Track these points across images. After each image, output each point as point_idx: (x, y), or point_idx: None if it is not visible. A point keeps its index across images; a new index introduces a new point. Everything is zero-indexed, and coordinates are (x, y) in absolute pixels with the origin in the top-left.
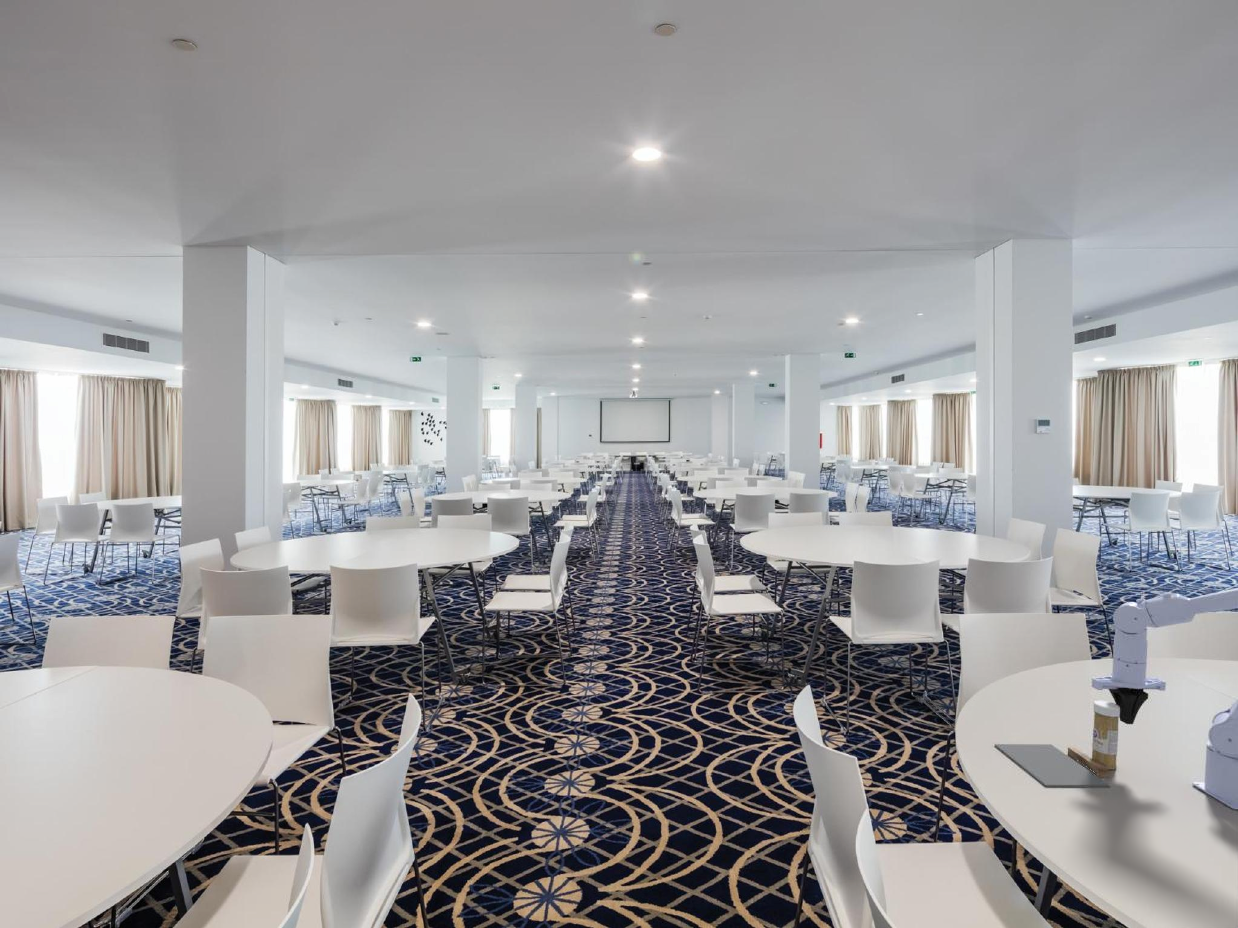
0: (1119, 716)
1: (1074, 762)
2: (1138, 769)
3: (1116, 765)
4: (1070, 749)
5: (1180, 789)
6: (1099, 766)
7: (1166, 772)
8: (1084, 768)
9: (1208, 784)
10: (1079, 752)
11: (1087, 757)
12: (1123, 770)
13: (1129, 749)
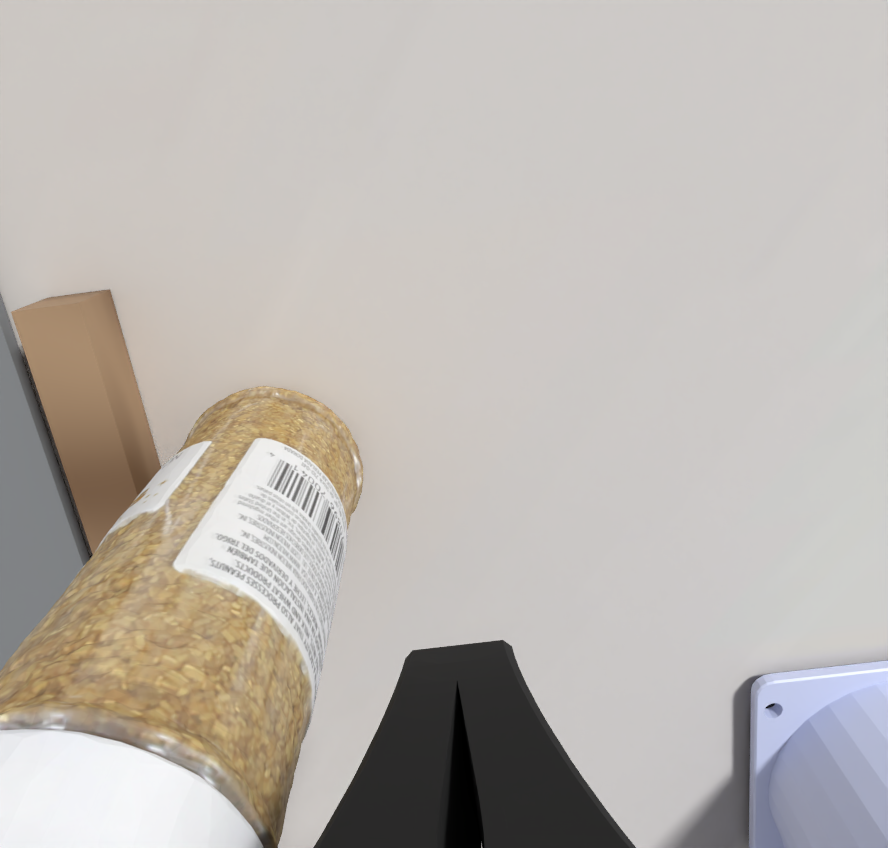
0: (396, 687)
1: (33, 486)
2: (525, 496)
3: (353, 510)
4: (26, 346)
5: (620, 733)
6: None
7: (717, 515)
8: (76, 574)
9: (789, 809)
10: (84, 411)
11: (118, 502)
12: (391, 528)
13: (728, 82)
